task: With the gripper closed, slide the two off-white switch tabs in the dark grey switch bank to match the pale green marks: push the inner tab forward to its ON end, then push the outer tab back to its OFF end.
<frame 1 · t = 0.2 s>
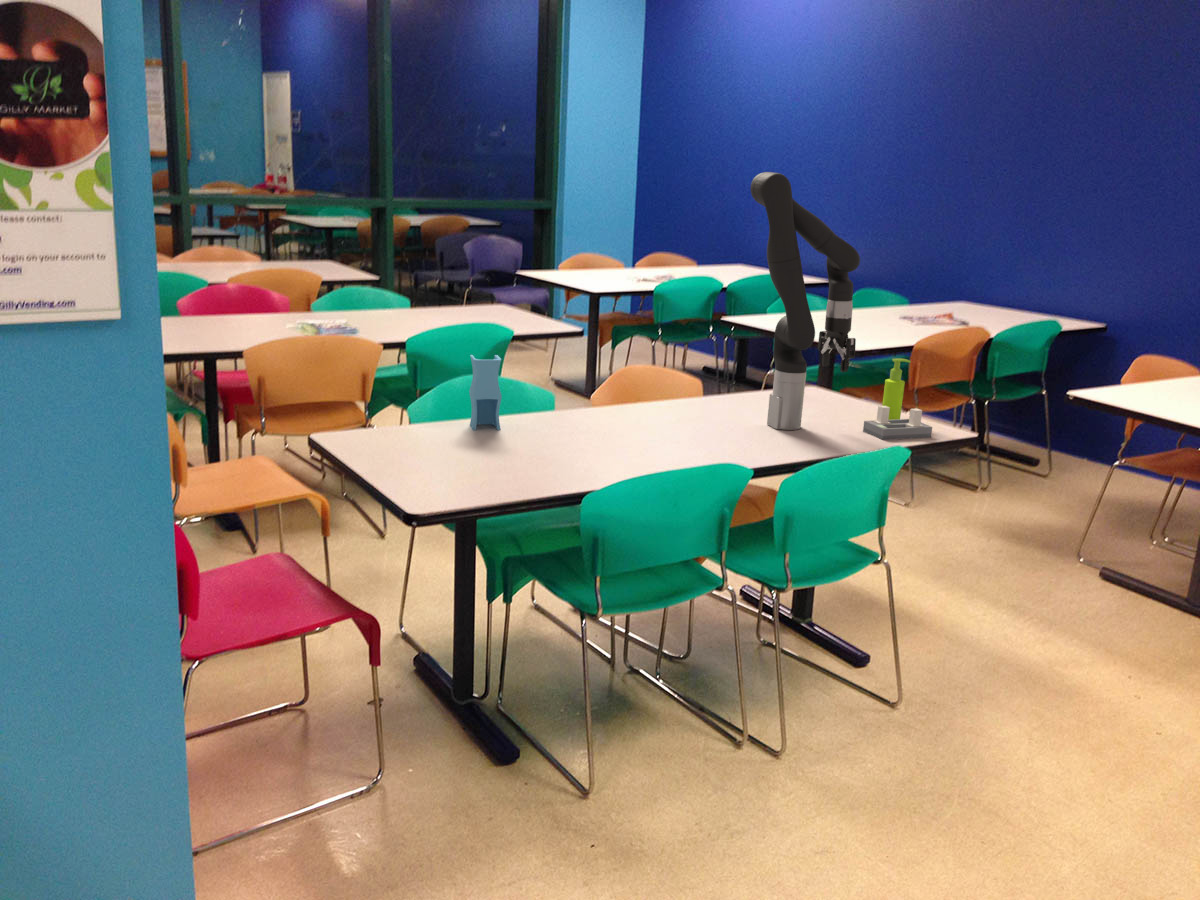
hand: (834, 368, 308), 18 cm above the table, tool pointing down, fingers open, 8 cm apart
switch bank: (896, 434, 307), on the table
tab B: (914, 420, 305), point 5 cm above the table, slide at 8.0 cm
notched blue pillar: (484, 427, 292), on the table
tab A: (882, 417, 306), point 5 cm above the table, slide at 0.0 cm
soap dispenser: (891, 422, 322), on the table
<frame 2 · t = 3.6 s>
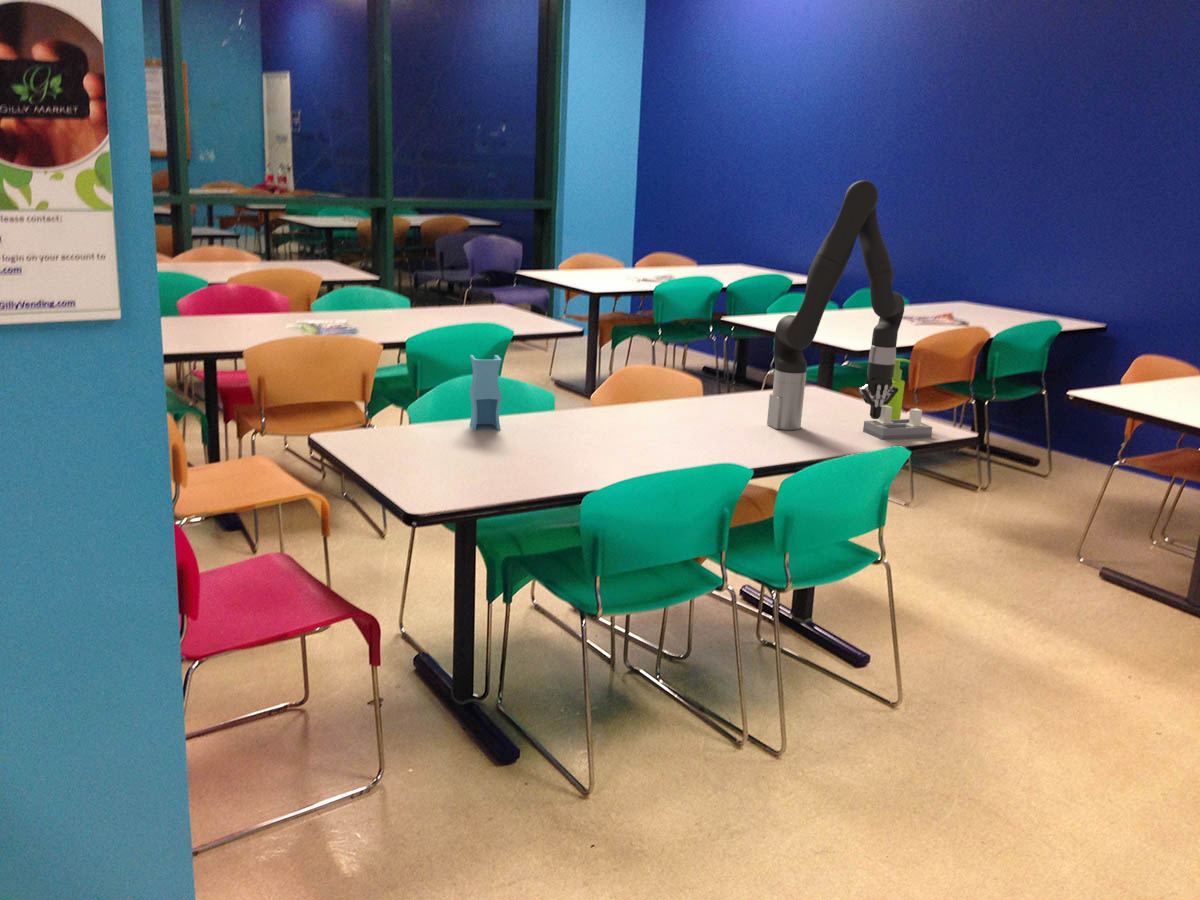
hand: (874, 418, 305), 5 cm above the table, tool pointing down, fingers closed
tab A: (885, 417, 307), point 5 cm above the table, slide at 0.9 cm, touching gripper
everything else where it was.
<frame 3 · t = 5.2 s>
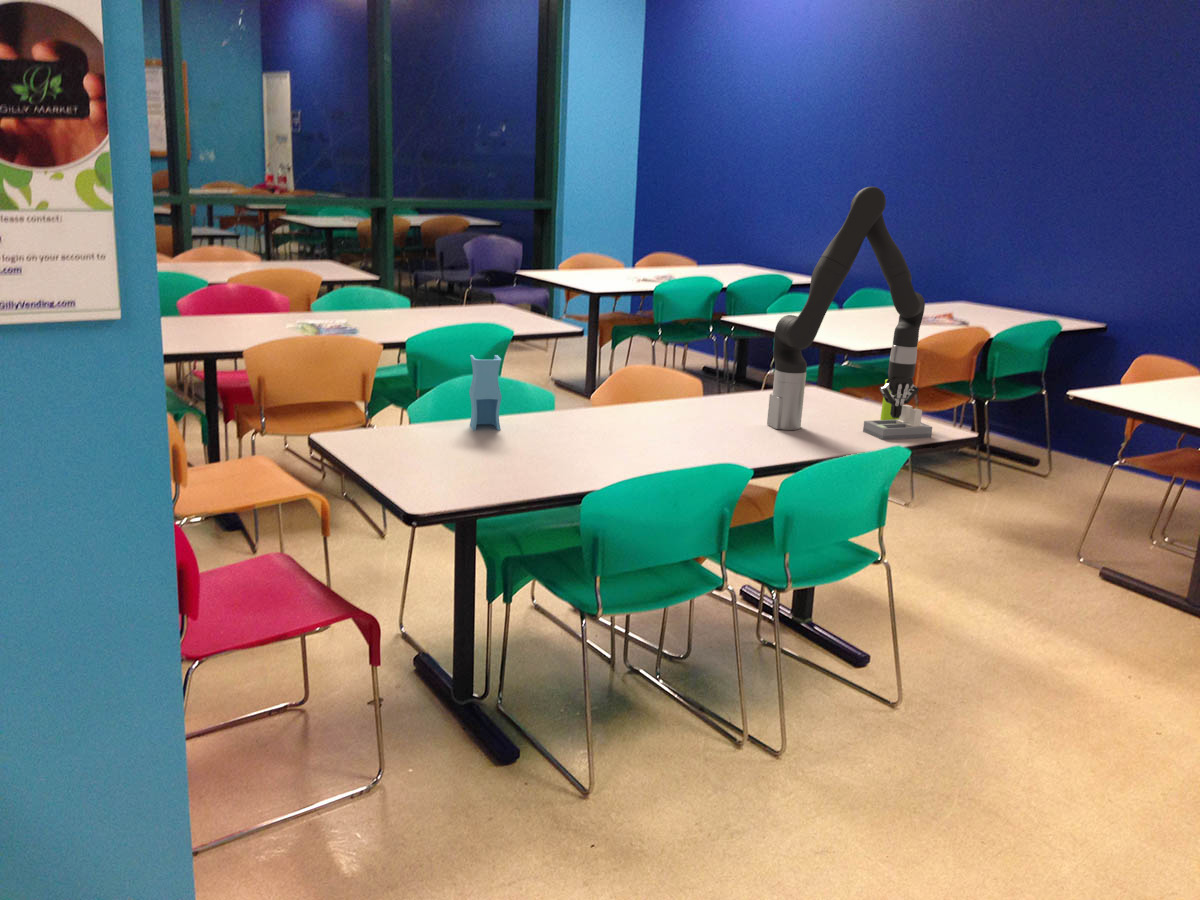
hand: (895, 417, 308), 5 cm above the table, tool pointing down, fingers closed
tab A: (905, 416, 309), point 5 cm above the table, slide at 8.1 cm, touching gripper
everything else where it was.
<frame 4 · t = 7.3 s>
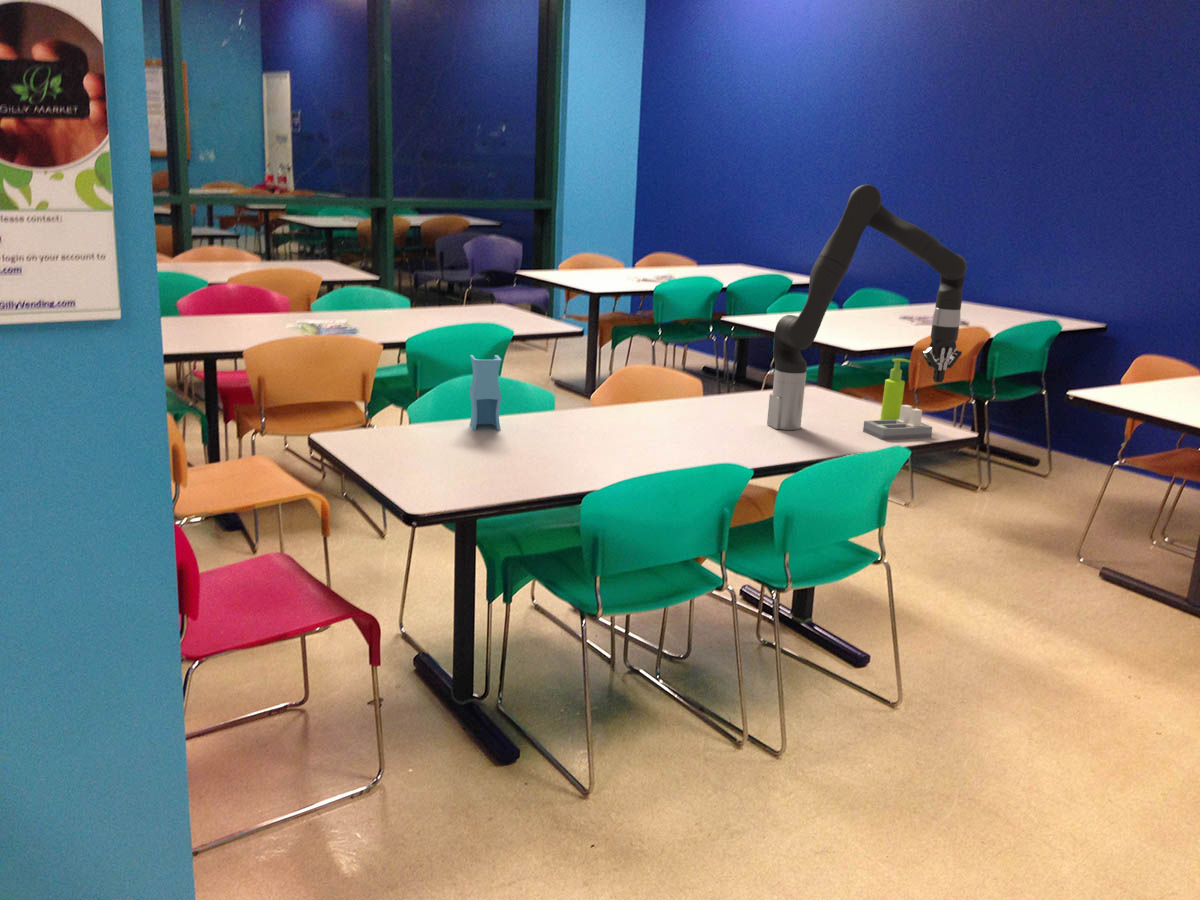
hand: (938, 382, 304), 16 cm above the table, tool pointing down, fingers closed
tab A: (905, 416, 309), point 5 cm above the table, slide at 8.0 cm
everything else where it was.
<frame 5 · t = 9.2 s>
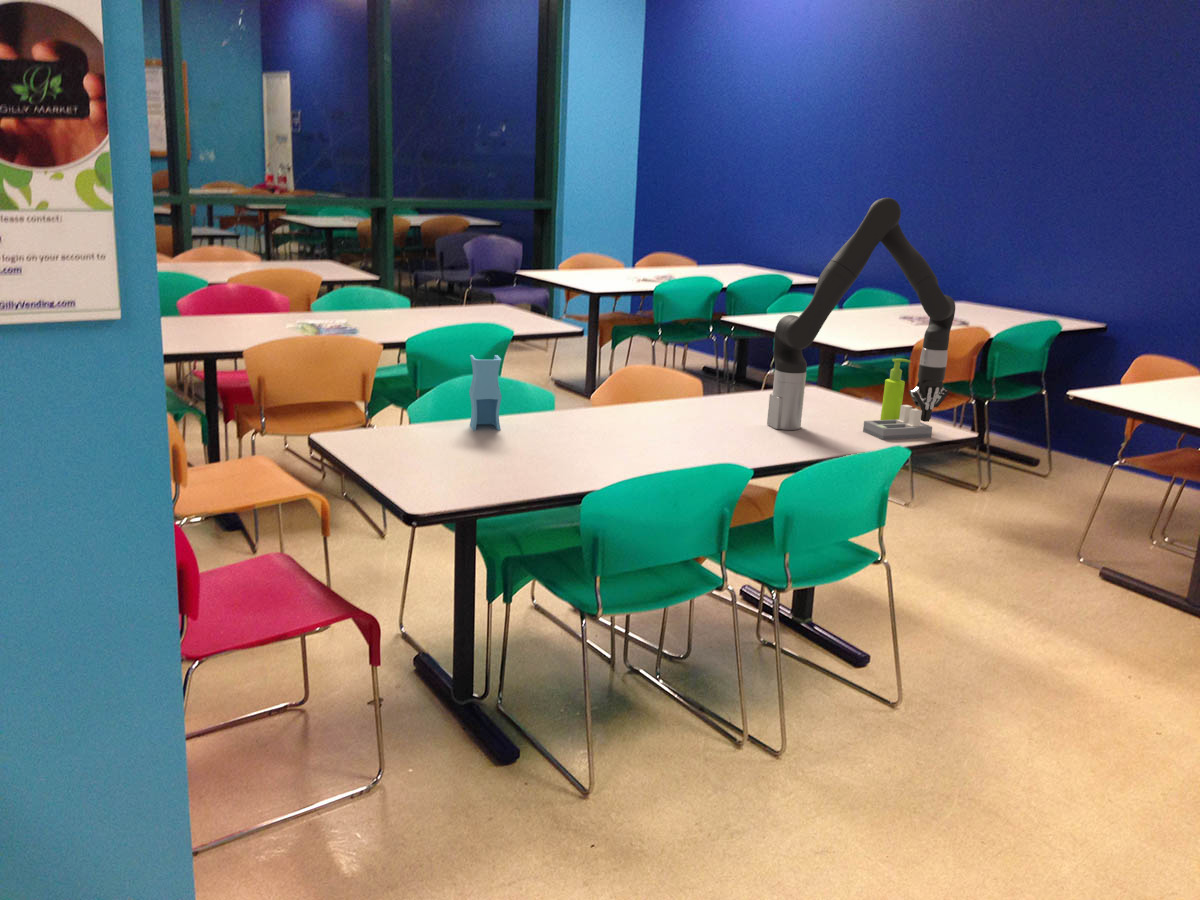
hand: (924, 421, 306), 4 cm above the table, tool pointing down, fingers closed
tab B: (914, 420, 305), point 5 cm above the table, slide at 7.8 cm, touching gripper
everything else where it was.
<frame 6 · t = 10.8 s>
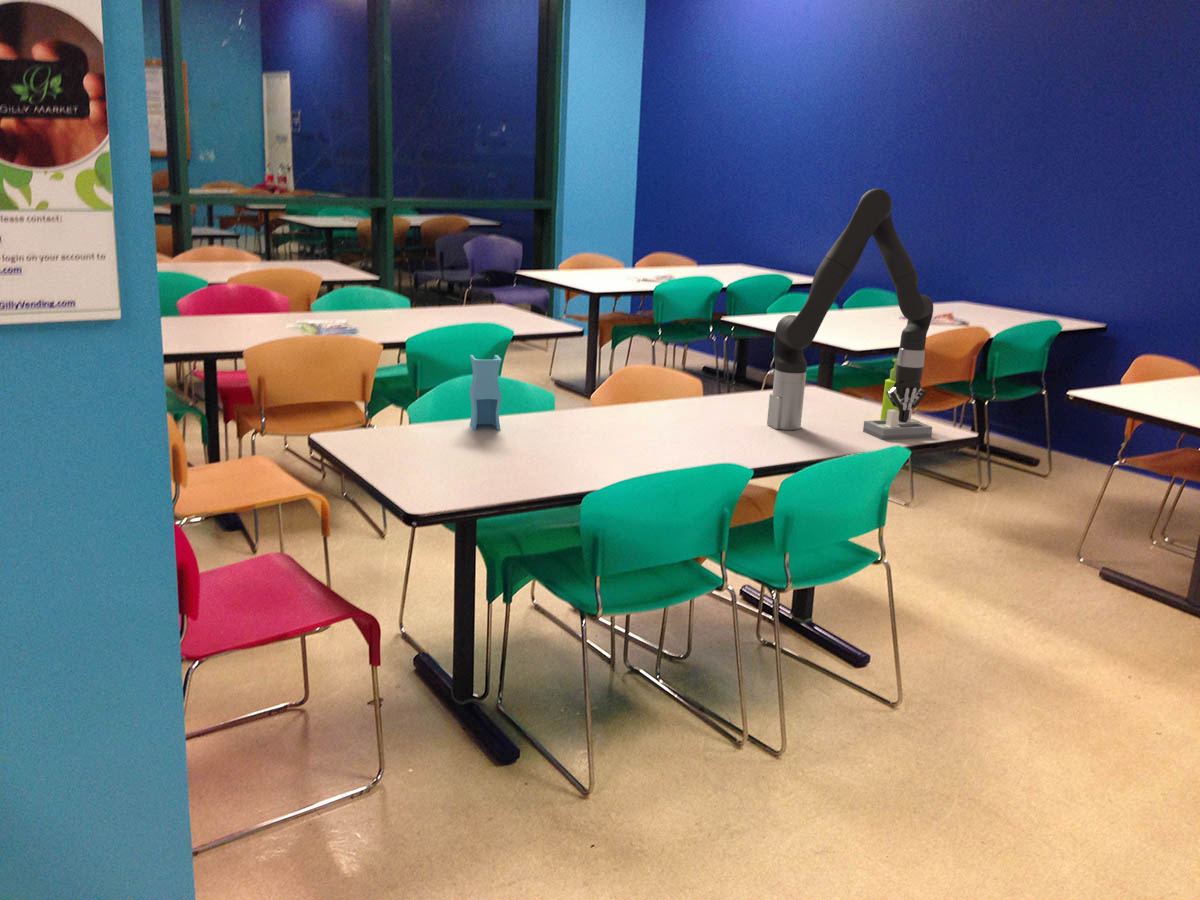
hand: (902, 421, 303), 4 cm above the table, tool pointing down, fingers closed
tab B: (892, 421, 302), point 5 cm above the table, slide at 0.0 cm, touching gripper
everything else where it was.
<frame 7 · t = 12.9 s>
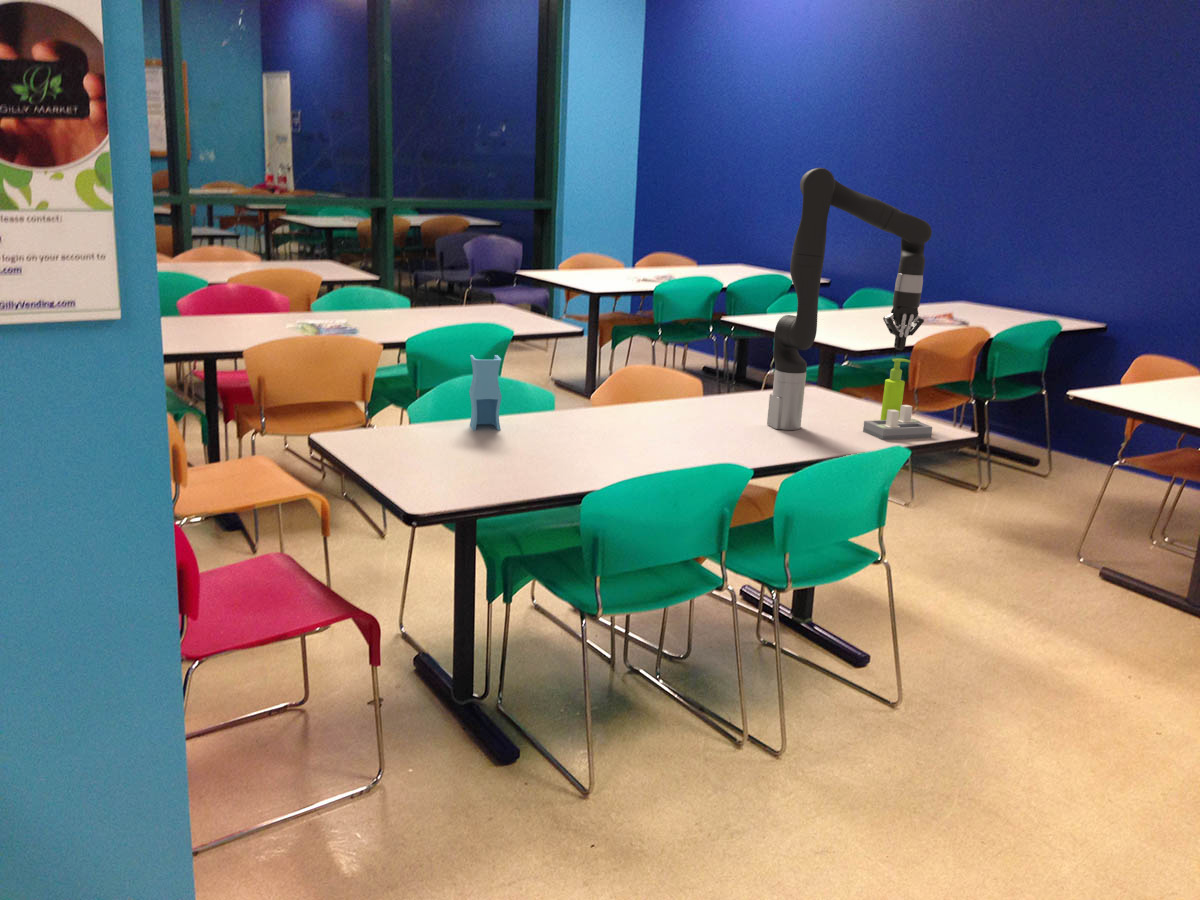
hand: (899, 349, 301), 25 cm above the table, tool pointing down, fingers closed
tab B: (892, 421, 302), point 5 cm above the table, slide at 0.0 cm
everything else where it was.
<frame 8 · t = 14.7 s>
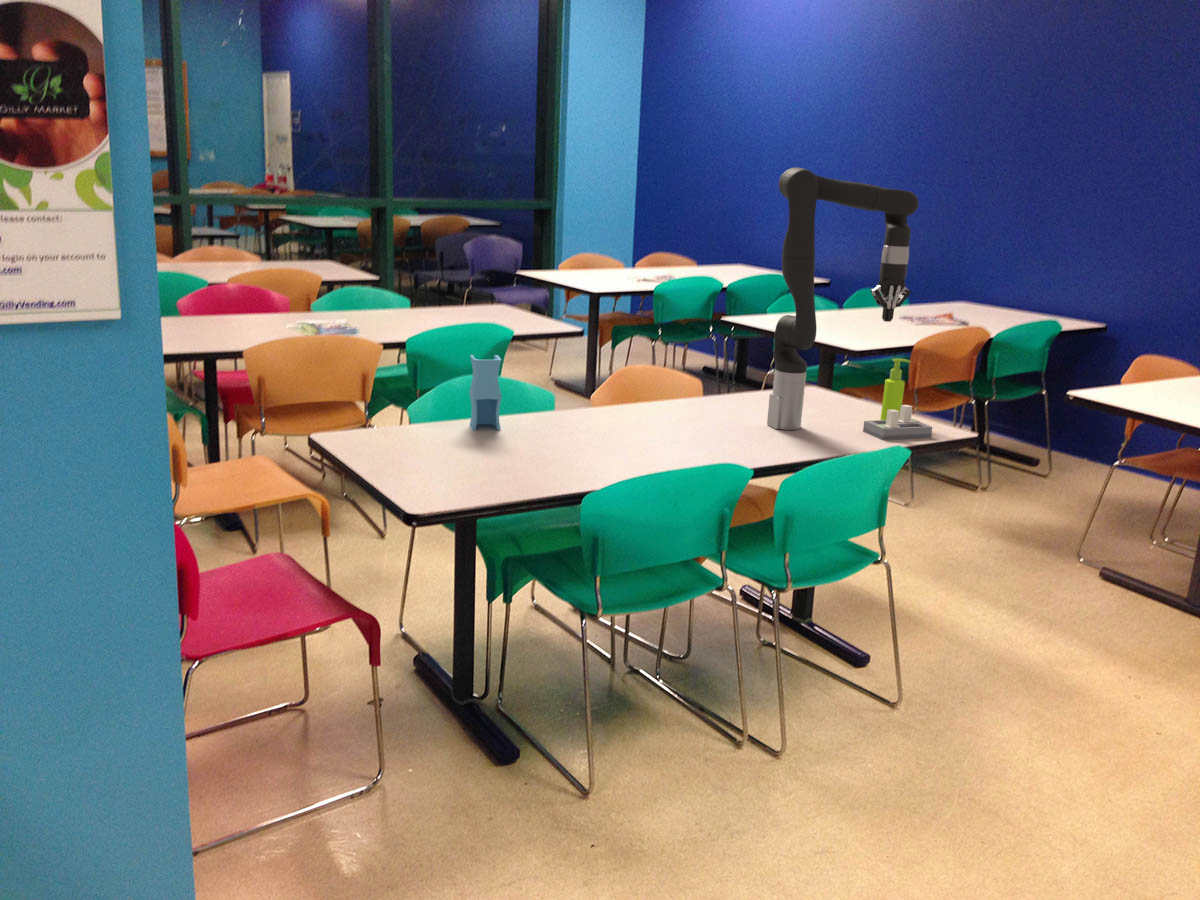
hand: (887, 321, 302), 33 cm above the table, tool pointing down, fingers closed
nothing on the table moved.
at the end: tab A slide at 8.0 cm; tab B slide at 0.0 cm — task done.
